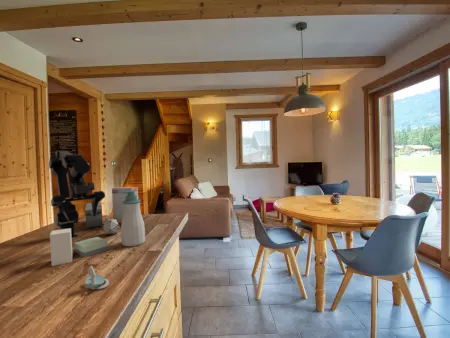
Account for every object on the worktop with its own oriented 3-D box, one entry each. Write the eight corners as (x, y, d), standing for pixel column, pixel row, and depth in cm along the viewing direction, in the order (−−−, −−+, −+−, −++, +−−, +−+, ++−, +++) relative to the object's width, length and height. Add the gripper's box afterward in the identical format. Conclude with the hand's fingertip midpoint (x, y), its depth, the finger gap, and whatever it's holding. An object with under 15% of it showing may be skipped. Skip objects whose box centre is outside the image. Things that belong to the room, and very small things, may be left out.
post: (53, 260, 92) (51, 230, 91) (72, 256, 95) (70, 228, 94) (51, 266, 87) (49, 234, 86) (71, 262, 89) (70, 231, 89)
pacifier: (107, 278, 76) (85, 283, 73) (107, 258, 76) (84, 262, 73) (110, 289, 70) (86, 295, 67) (109, 267, 70) (85, 272, 67)
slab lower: (75, 253, 100) (75, 247, 100) (98, 246, 106) (98, 241, 106) (83, 258, 94) (83, 253, 94) (107, 251, 100) (107, 246, 100)
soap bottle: (117, 243, 108) (115, 191, 107) (138, 238, 115) (136, 189, 114) (128, 248, 101) (125, 193, 100) (149, 242, 108) (147, 190, 107)
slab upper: (74, 248, 99) (74, 242, 99) (97, 241, 106) (97, 236, 106) (84, 252, 94) (83, 247, 94) (107, 245, 101) (107, 240, 101)
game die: (113, 242, 121) (111, 229, 115) (98, 236, 122) (95, 223, 116) (125, 229, 128) (123, 216, 122) (111, 223, 129) (109, 210, 123)
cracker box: (140, 222, 144) (138, 186, 143) (133, 225, 139) (131, 187, 138) (120, 221, 149) (118, 186, 148) (113, 223, 143) (111, 187, 142)
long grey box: (87, 220, 152) (86, 203, 152) (101, 219, 156) (101, 201, 155) (86, 230, 130) (85, 210, 129) (102, 228, 133) (101, 208, 133)
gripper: (53, 177, 92) (58, 218, 89) (105, 174, 105) (112, 209, 102) (48, 186, 100) (53, 224, 96) (98, 182, 113) (104, 216, 109)
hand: (82, 218), depth 101 cm, fingers open, 9 cm apart
